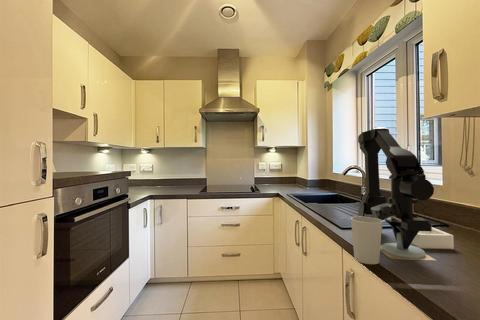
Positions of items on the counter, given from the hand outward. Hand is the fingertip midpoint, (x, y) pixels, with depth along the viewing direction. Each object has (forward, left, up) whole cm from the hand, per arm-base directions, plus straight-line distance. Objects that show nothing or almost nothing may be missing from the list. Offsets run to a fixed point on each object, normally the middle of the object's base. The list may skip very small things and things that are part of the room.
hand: (402, 246), depth 78 cm
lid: (0, 0, -2) cm, 2 cm away
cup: (+7, -13, -2) cm, 15 cm away
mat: (0, 0, -2) cm, 2 cm away
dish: (-9, +12, -2) cm, 15 cm away
